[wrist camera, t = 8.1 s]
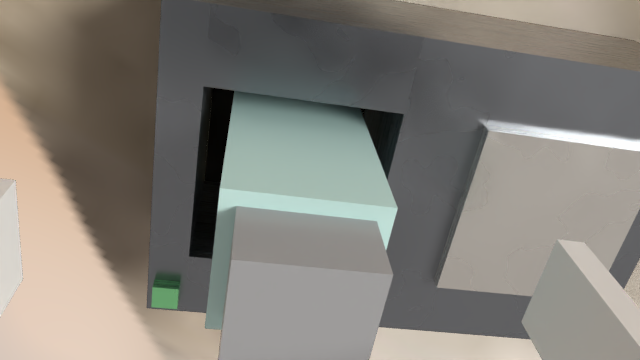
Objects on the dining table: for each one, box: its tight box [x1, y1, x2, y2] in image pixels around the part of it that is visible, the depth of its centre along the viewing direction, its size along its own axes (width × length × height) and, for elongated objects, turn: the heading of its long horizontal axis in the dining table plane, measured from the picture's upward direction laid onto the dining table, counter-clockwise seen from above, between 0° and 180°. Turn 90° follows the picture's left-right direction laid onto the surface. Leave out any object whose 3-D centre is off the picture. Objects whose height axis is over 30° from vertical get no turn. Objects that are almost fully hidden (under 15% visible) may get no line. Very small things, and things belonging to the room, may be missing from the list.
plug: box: [205, 91, 398, 360], centre depth 17 cm, size 4×4×11 cm
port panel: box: [147, 0, 640, 339], centre depth 20 cm, size 10×16×5 cm, turn 80°
